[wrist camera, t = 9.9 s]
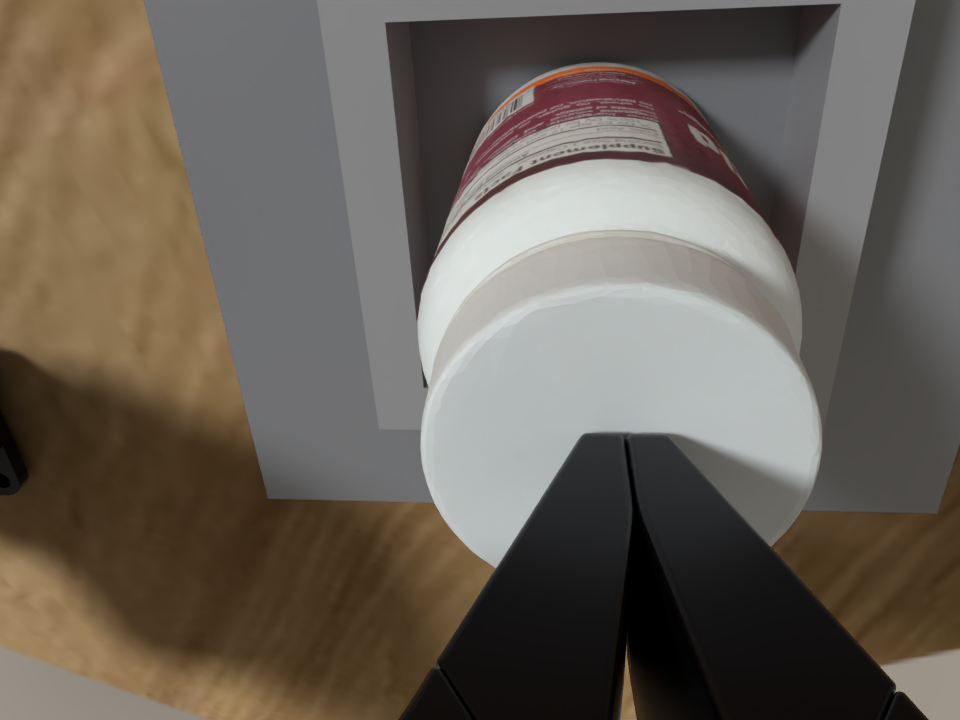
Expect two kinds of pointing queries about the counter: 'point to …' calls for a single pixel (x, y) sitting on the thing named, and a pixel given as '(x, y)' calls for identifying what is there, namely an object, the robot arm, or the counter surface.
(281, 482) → the bottle stand
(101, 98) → the counter surface
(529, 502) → the pill bottle
